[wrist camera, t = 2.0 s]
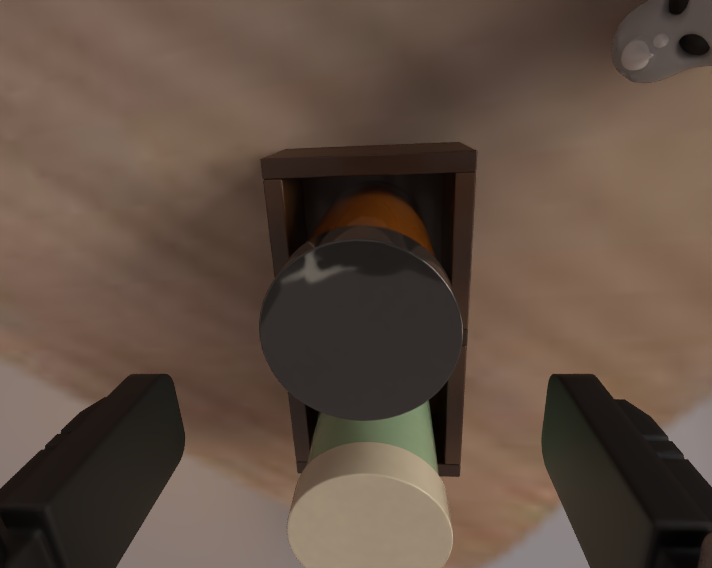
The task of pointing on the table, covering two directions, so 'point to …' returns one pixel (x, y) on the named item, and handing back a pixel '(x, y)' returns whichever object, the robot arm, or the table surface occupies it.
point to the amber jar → (363, 310)
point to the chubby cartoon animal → (663, 39)
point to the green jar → (371, 496)
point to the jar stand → (444, 225)
